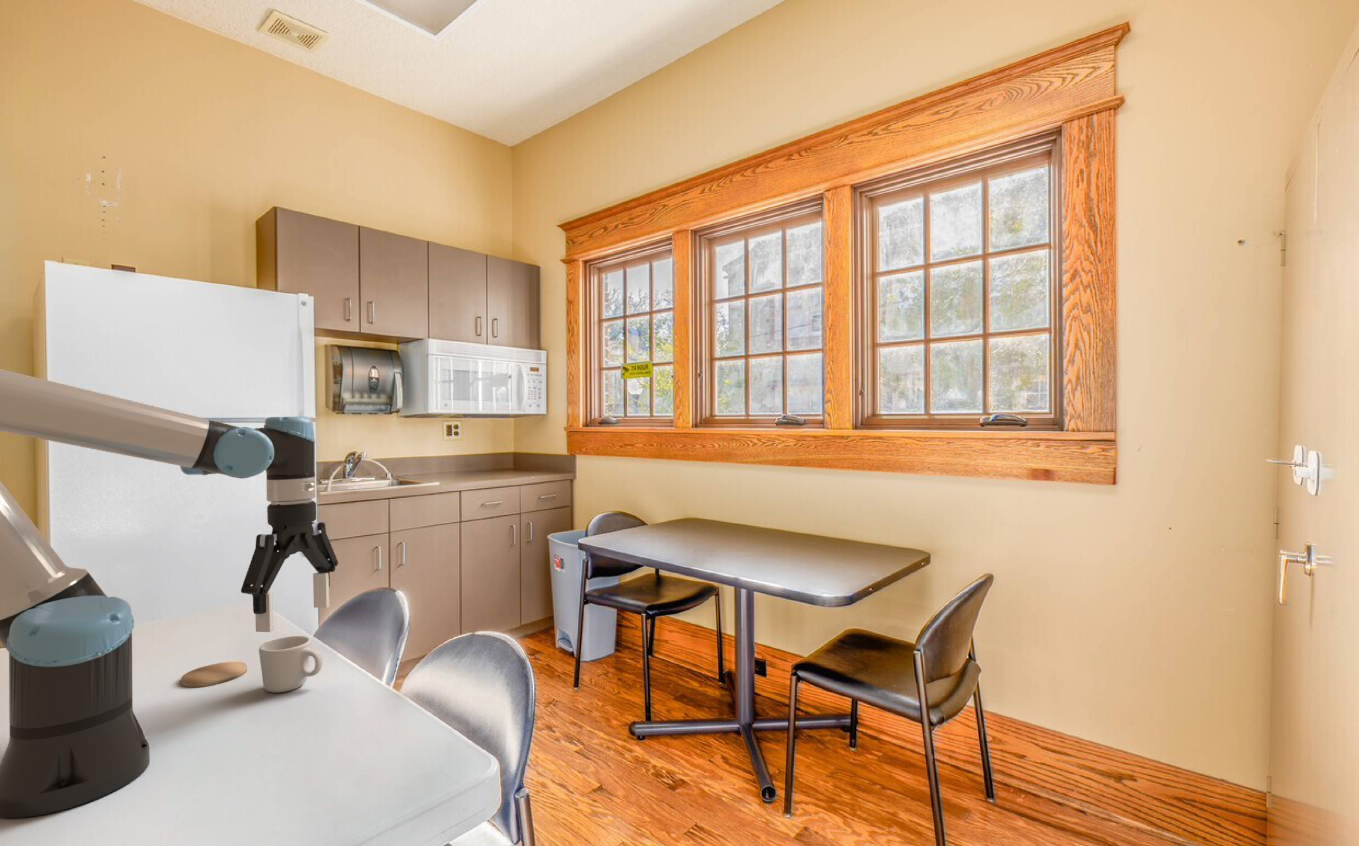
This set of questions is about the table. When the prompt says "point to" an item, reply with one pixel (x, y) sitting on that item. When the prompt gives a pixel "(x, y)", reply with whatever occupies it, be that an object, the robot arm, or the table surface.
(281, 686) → the cup
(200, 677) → the coaster
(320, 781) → the table surface
